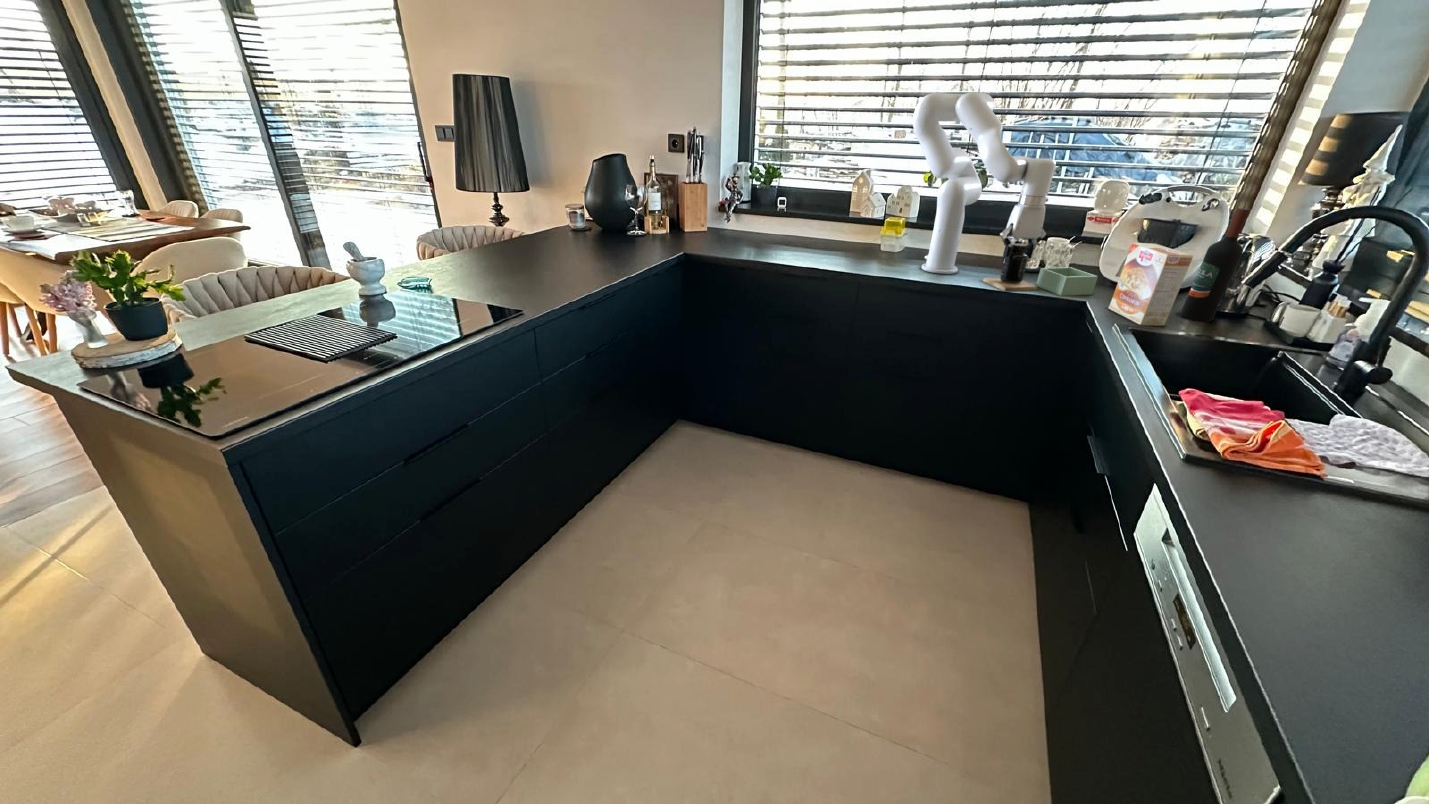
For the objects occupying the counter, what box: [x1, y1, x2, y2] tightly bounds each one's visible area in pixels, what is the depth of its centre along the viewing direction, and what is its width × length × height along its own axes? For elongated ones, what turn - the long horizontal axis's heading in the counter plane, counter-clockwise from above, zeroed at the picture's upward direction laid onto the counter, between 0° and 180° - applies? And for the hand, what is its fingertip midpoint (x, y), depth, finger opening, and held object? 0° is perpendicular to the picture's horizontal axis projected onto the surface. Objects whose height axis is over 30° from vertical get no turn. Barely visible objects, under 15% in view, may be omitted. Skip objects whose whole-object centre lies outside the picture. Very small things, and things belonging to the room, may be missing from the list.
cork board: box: [982, 276, 1039, 292], centre depth 187 cm, size 12×12×1 cm
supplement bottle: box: [1000, 242, 1029, 283], centre depth 184 cm, size 7×7×12 cm
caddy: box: [1035, 266, 1099, 297], centre depth 182 cm, size 12×12×6 cm
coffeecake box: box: [1108, 242, 1194, 327], centre depth 155 cm, size 15×7×20 cm, turn 178°
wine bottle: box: [1179, 207, 1251, 323], centre depth 154 cm, size 8×8×30 cm
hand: (1016, 257), depth 183 cm, fingers closed on supplement bottle, 6 cm apart
